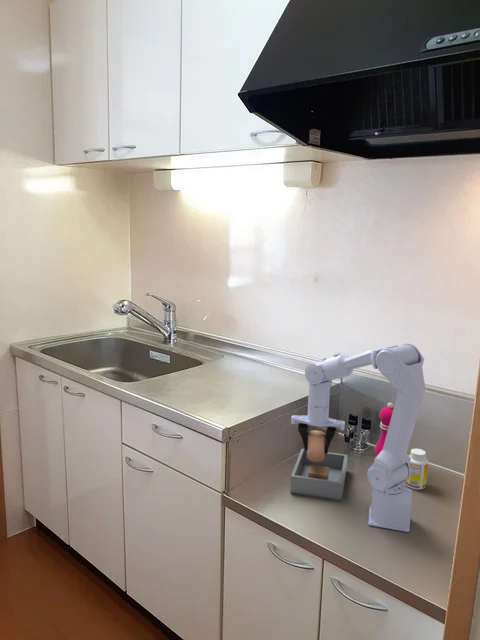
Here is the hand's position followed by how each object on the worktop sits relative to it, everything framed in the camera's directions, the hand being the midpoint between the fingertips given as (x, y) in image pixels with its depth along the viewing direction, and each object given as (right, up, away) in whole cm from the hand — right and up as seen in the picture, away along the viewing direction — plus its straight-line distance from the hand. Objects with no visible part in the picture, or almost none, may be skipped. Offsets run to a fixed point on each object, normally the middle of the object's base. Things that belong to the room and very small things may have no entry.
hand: (316, 450), depth 140 cm
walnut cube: (0, -9, -2) cm, 10 cm away
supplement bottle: (+28, -10, +1) cm, 30 cm away
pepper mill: (+23, -8, +12) cm, 27 cm away
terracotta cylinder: (0, -2, 0) cm, 2 cm away
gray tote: (+1, -9, +2) cm, 10 cm away
